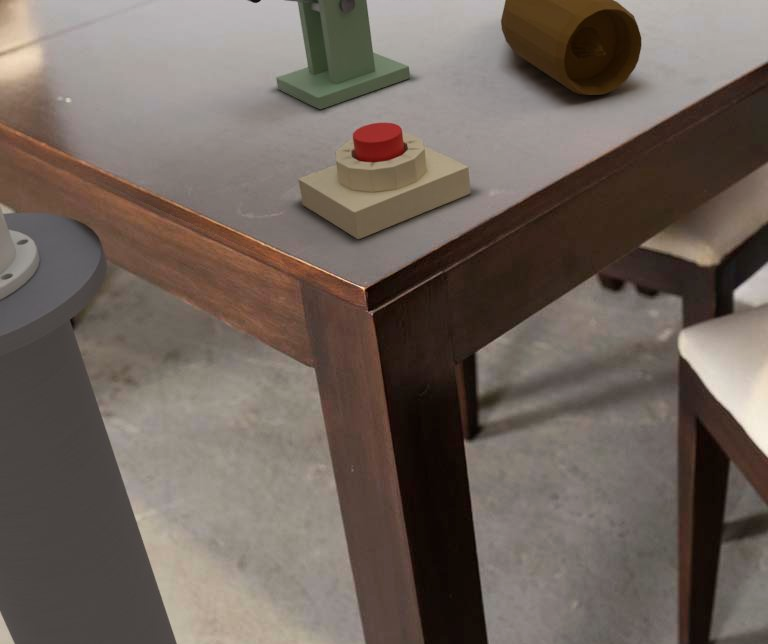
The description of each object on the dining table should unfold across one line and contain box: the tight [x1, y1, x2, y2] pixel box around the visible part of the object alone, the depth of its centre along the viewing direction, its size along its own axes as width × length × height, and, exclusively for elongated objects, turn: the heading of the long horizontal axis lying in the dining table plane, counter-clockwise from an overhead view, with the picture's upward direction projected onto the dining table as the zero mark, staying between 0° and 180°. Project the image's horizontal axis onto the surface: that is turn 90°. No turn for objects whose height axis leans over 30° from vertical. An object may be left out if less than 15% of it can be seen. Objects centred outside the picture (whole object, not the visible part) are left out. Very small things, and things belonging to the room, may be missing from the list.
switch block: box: [298, 132, 471, 240], centre depth 82 cm, size 10×8×4 cm
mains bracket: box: [275, 0, 411, 110], centre depth 102 cm, size 10×8×10 cm
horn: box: [500, 0, 642, 96], centre depth 102 cm, size 8×10×25 cm
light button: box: [352, 122, 404, 163], centre depth 81 cm, size 4×4×2 cm
